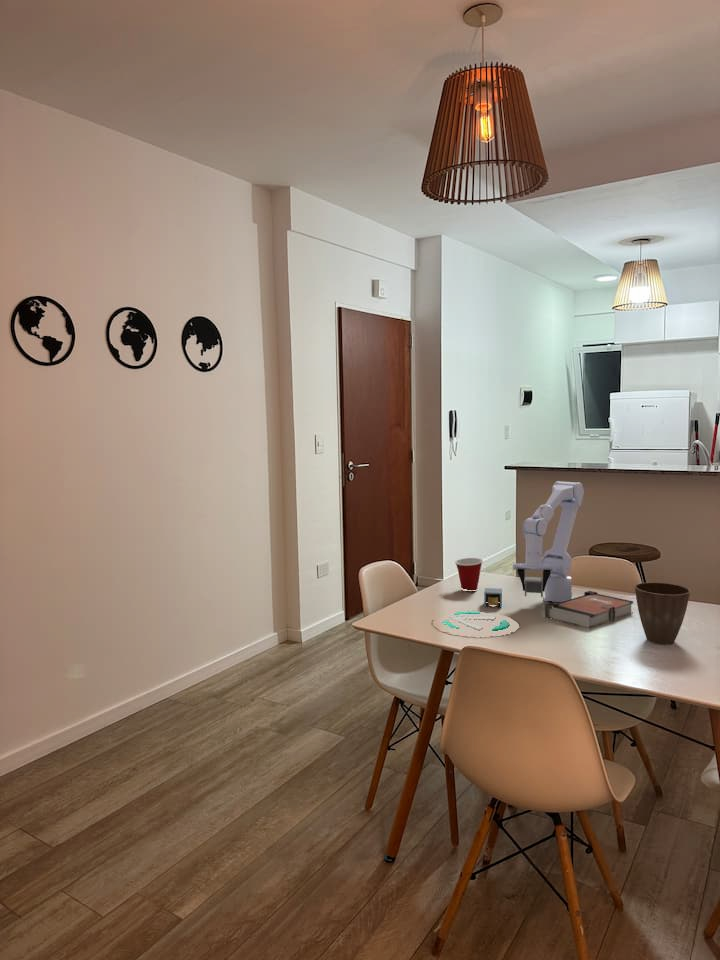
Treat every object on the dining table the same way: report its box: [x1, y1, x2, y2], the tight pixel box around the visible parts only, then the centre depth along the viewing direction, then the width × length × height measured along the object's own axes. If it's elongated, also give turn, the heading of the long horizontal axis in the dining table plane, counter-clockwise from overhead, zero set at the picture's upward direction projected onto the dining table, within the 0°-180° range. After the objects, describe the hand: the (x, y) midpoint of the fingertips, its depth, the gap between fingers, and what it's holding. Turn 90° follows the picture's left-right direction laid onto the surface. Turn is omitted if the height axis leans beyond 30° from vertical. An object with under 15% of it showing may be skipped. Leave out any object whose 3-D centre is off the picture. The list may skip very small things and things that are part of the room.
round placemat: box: [442, 610, 510, 631], centre depth 221 cm, size 28×28×2 cm
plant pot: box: [634, 581, 691, 646], centre depth 201 cm, size 15×15×16 cm
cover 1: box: [483, 587, 503, 608], centre depth 242 cm, size 6×6×6 cm
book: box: [544, 590, 634, 630], centre depth 228 cm, size 26×18×5 cm
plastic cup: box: [454, 557, 484, 590], centre depth 263 cm, size 11×11×12 cm
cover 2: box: [524, 576, 544, 598], centre depth 238 cm, size 6×6×6 cm
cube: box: [487, 595, 499, 607], centre depth 242 cm, size 4×4×4 cm
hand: (533, 590), depth 238 cm, fingers closed on cover 2, 6 cm apart
